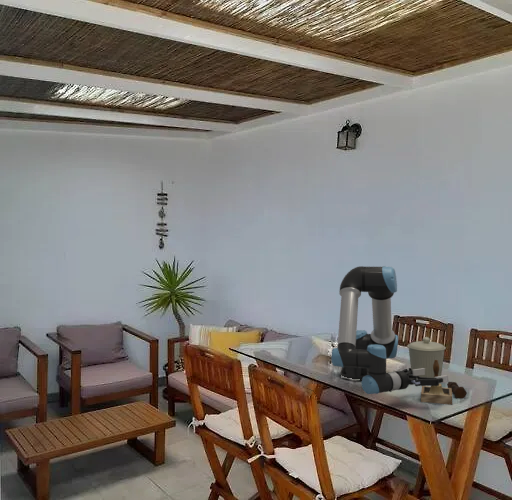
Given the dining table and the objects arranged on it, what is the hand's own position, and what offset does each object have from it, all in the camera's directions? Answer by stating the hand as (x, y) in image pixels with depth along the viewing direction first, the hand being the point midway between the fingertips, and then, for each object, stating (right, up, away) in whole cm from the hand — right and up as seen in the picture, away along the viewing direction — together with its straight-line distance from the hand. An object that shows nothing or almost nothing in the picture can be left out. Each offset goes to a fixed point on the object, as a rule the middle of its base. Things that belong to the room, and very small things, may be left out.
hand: (435, 374), depth 227 cm
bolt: (+12, -11, +8) cm, 18 cm away
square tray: (+1, -11, +1) cm, 11 cm away
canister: (+6, -10, +32) cm, 34 cm away
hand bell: (+1, -10, +1) cm, 10 cm away
